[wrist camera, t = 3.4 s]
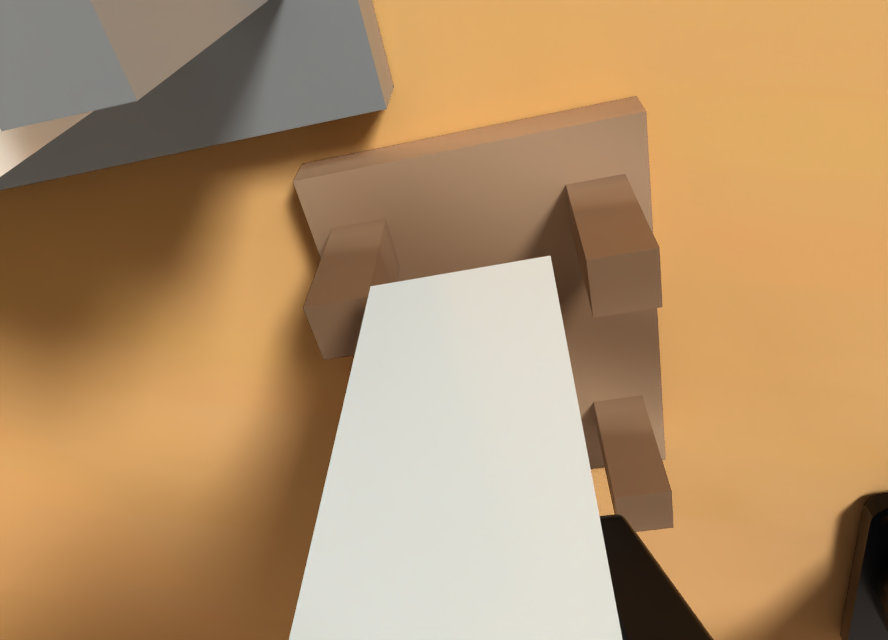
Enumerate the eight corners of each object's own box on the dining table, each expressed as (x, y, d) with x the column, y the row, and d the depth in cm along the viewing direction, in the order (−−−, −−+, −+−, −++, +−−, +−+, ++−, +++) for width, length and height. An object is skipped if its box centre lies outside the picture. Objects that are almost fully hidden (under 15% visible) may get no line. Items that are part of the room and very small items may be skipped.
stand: (657, 434, 16) (696, 558, 13) (408, 466, 17) (395, 589, 14) (636, 96, 12) (687, 175, 9) (302, 164, 13) (253, 254, 10)
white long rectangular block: (599, 583, 13) (681, 1054, 8) (471, 595, 13) (471, 1053, 8) (550, 255, 9) (646, 774, 4) (371, 286, 9) (251, 797, 4)
